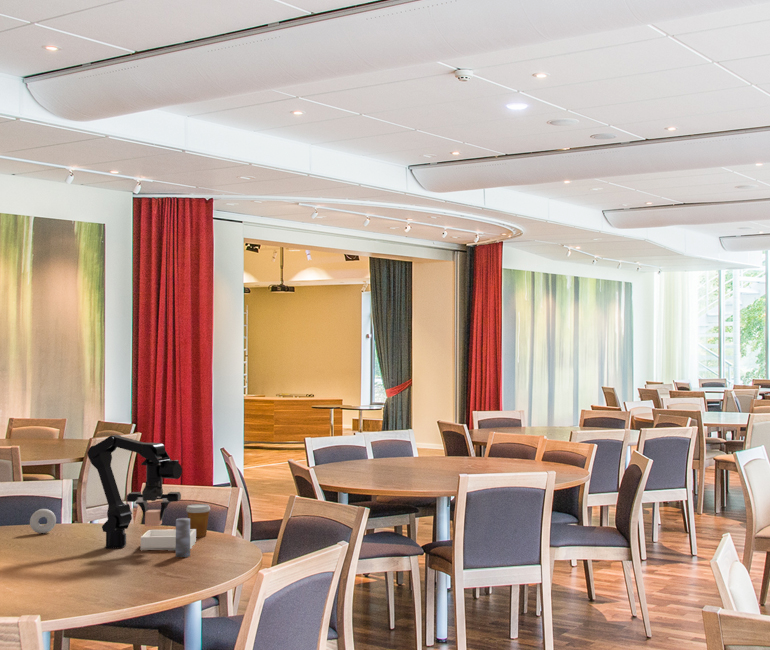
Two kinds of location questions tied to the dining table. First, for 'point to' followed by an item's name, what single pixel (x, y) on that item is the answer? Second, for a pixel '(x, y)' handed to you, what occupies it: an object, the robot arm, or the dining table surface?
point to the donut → (48, 526)
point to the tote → (163, 539)
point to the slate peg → (182, 537)
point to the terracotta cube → (152, 518)
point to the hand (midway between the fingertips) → (153, 520)
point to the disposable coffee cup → (198, 518)
